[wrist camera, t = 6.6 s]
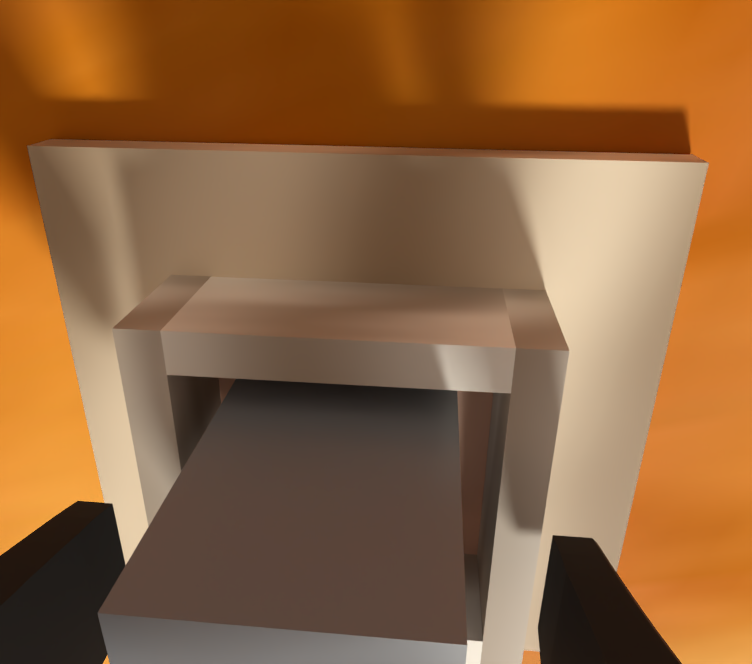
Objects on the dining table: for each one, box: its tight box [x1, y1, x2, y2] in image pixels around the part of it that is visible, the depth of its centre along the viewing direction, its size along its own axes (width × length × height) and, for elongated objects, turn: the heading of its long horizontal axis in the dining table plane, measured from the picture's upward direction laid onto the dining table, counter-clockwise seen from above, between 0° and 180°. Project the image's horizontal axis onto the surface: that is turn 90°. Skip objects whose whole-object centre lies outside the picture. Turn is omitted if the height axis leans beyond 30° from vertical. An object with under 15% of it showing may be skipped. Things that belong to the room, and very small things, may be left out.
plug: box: [98, 379, 467, 664], centre depth 11 cm, size 4×4×6 cm
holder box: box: [27, 139, 709, 664], centre depth 13 cm, size 12×12×3 cm
